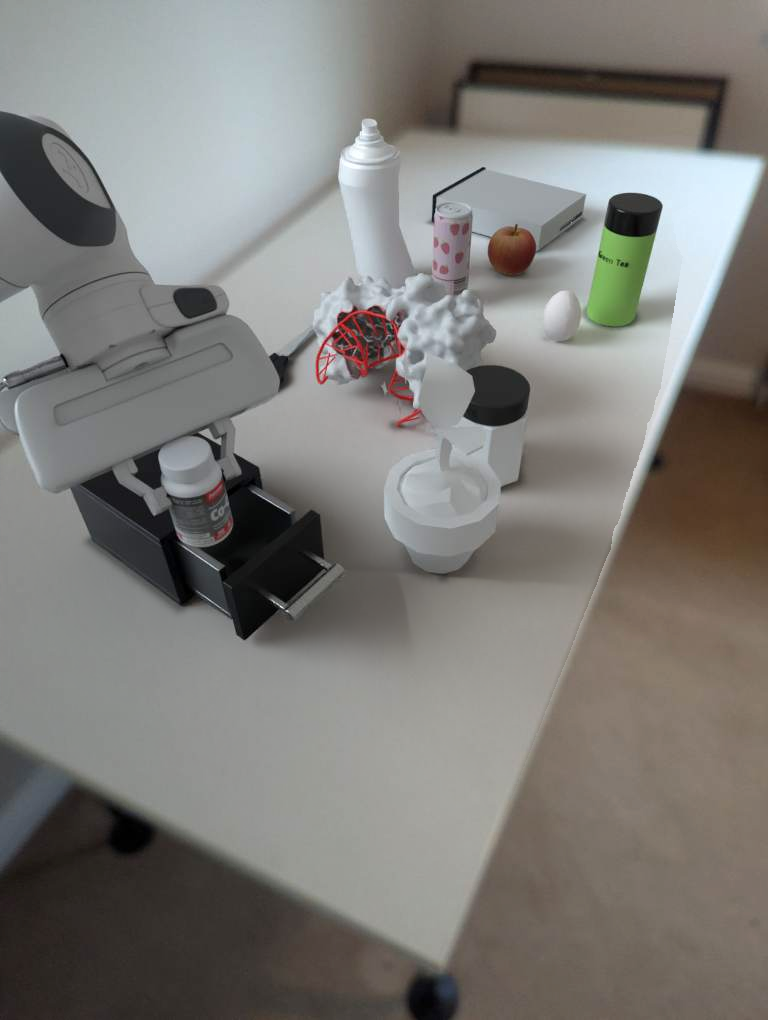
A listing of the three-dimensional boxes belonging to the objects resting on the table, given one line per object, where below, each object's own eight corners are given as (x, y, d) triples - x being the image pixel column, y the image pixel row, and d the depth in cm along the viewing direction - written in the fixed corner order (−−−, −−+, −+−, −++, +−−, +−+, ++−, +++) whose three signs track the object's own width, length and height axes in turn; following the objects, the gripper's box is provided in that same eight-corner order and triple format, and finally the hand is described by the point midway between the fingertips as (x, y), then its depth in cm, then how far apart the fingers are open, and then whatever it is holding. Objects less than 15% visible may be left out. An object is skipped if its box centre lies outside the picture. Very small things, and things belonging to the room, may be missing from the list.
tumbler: (639, 327, 111) (671, 213, 98) (590, 328, 111) (615, 213, 98) (627, 303, 116) (656, 191, 104) (580, 303, 116) (603, 191, 104)
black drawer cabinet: (271, 533, 81) (259, 467, 74) (181, 606, 74) (159, 540, 67) (182, 478, 88) (164, 412, 81) (92, 540, 80) (64, 474, 74)
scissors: (300, 317, 113) (226, 386, 101) (299, 312, 113) (224, 381, 100) (338, 327, 111) (267, 399, 99) (338, 322, 111) (266, 393, 98)
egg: (574, 330, 110) (584, 283, 105) (578, 349, 106) (587, 301, 101) (538, 329, 111) (546, 281, 105) (540, 348, 107) (548, 300, 102)
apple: (517, 256, 128) (522, 211, 122) (542, 276, 122) (549, 229, 117) (476, 266, 125) (480, 219, 120) (500, 286, 120) (505, 239, 115)
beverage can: (437, 291, 119) (441, 198, 109) (470, 297, 118) (478, 203, 107) (425, 308, 115) (428, 213, 105) (460, 314, 114) (467, 219, 103)
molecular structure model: (348, 478, 98) (514, 415, 84) (258, 377, 89) (428, 286, 75) (381, 389, 111) (529, 321, 98) (306, 292, 102) (457, 202, 88)
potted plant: (380, 517, 82) (375, 319, 65) (483, 511, 83) (506, 312, 65) (389, 607, 73) (386, 404, 56) (504, 599, 74) (537, 396, 56)
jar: (450, 442, 92) (455, 360, 83) (515, 445, 91) (527, 363, 83) (449, 491, 85) (455, 408, 77) (520, 494, 85) (533, 410, 76)
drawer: (362, 590, 74) (359, 536, 68) (282, 668, 67) (271, 616, 62) (235, 511, 82) (223, 458, 77) (152, 574, 76) (133, 520, 70)
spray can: (369, 309, 115) (364, 140, 98) (335, 282, 122) (324, 119, 104) (429, 289, 120) (434, 123, 102) (393, 264, 126) (392, 104, 109)
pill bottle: (228, 549, 60) (210, 473, 54) (171, 549, 60) (146, 473, 54) (237, 508, 63) (221, 432, 58) (183, 508, 64) (161, 432, 58)
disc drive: (480, 191, 148) (482, 166, 145) (582, 218, 139) (587, 191, 135) (431, 221, 138) (432, 195, 135) (537, 253, 129) (541, 225, 125)
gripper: (-24, 371, 50) (73, 552, 51) (240, 280, 58) (317, 436, 60) (-18, 394, 55) (70, 557, 57) (222, 308, 64) (293, 450, 65)
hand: (199, 494), depth 58 cm, fingers closed on pill bottle, 5 cm apart
